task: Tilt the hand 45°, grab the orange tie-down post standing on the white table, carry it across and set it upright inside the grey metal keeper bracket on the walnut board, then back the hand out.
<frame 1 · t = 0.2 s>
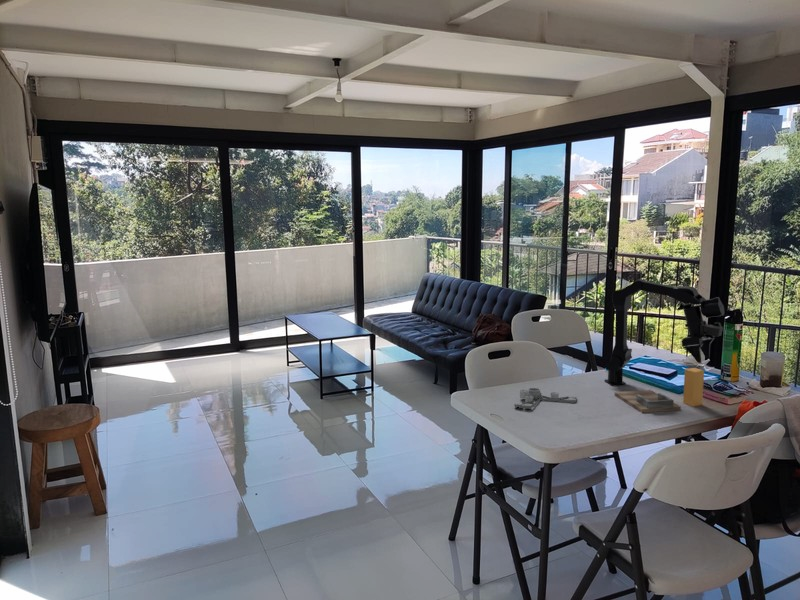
hand: (703, 360, 221), 15 cm above the table, tool tilted 15°, fingers open, 9 cm apart
post: (692, 403, 218), on the table
keeper: (646, 402, 221), on the table
pulley system: (540, 402, 226), on the table
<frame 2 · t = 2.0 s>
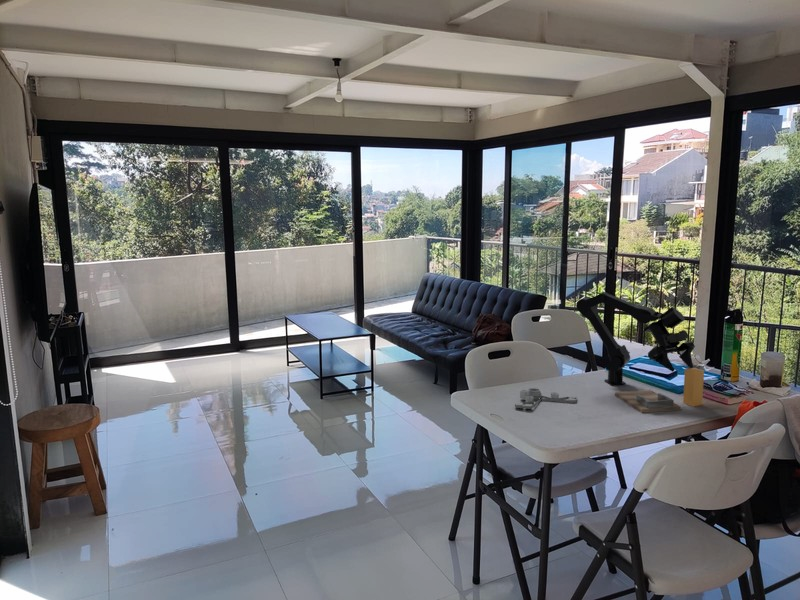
hand: (682, 369, 222), 12 cm above the table, tool tilted 45°, fingers open, 9 cm apart
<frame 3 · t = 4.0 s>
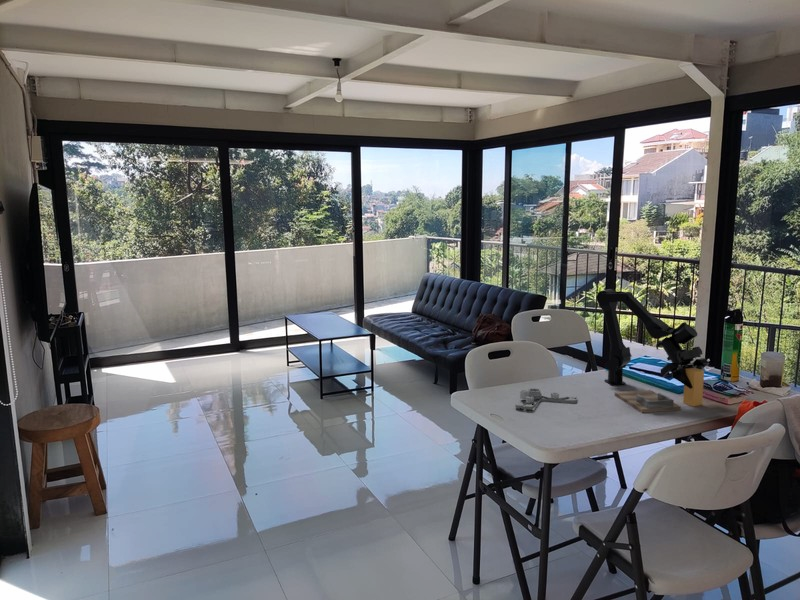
hand: (696, 387, 216), 7 cm above the table, tool tilted 45°, fingers closed on post, 4 cm apart
post: (692, 403, 218), on the table, touching gripper
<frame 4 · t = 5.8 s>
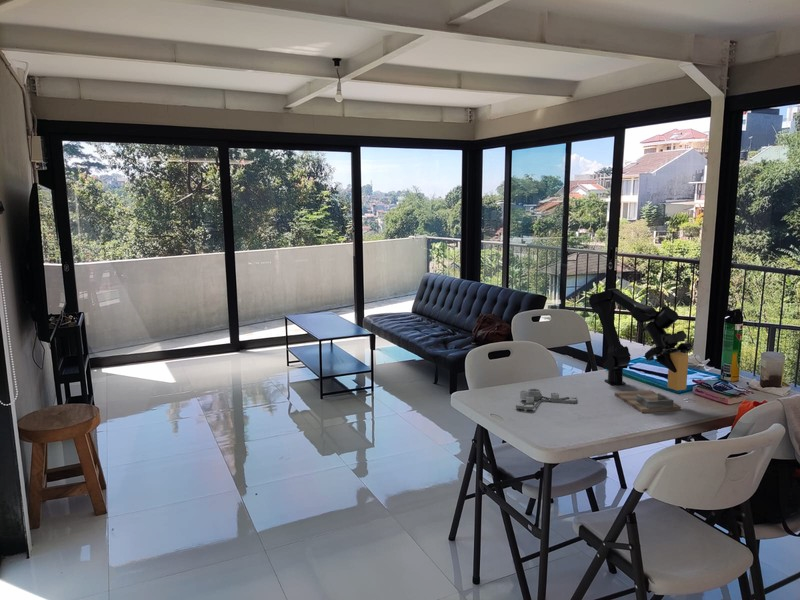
hand: (680, 371, 214), 13 cm above the table, tool tilted 45°, fingers closed on post, 4 cm apart
post: (676, 388, 217), point 6 cm above the table, touching gripper
everything else where it was.
when the fingers open (9 cm above the table, at t = 7.7 s): post drops 1 cm, resting on keeper.
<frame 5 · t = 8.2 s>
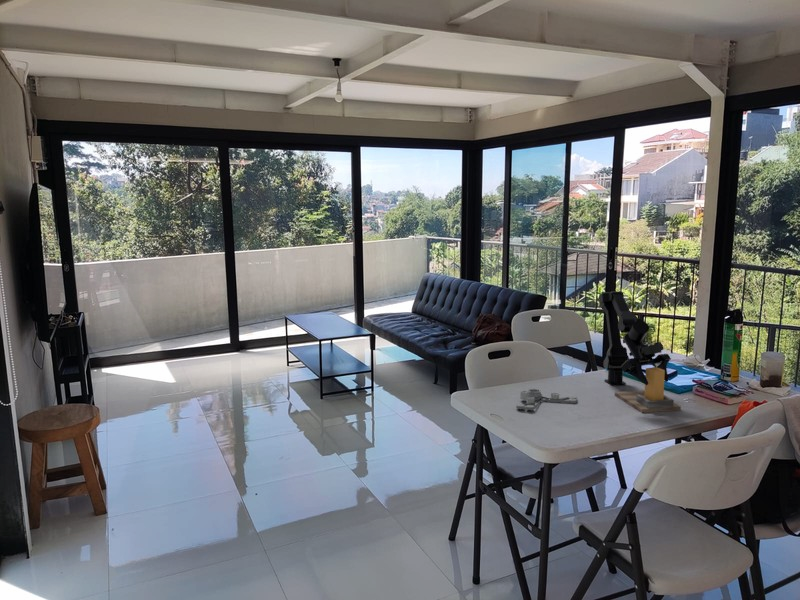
hand: (657, 382, 214), 9 cm above the table, tool tilted 45°, fingers open, 9 cm apart
post: (653, 403, 216), point 1 cm above the table, touching keeper
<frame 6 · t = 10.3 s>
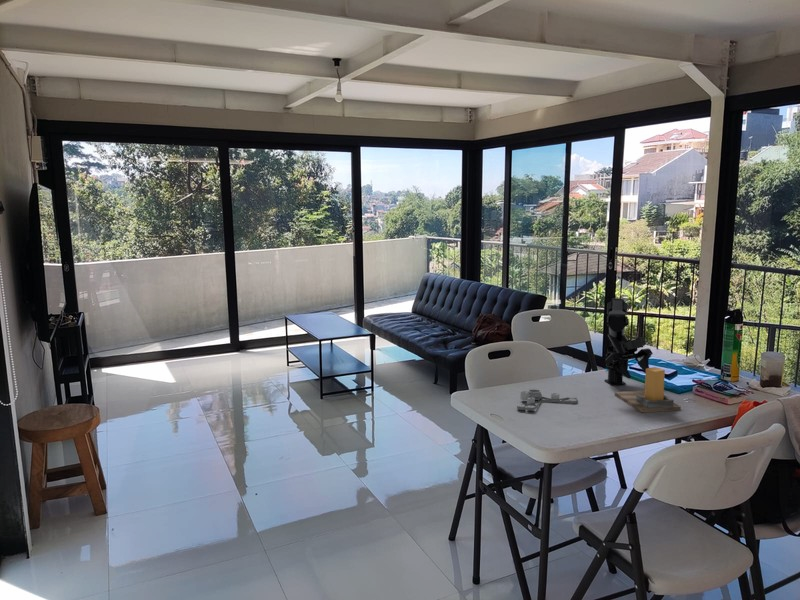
hand: (639, 376, 222), 9 cm above the table, tool tilted 45°, fingers open, 9 cm apart
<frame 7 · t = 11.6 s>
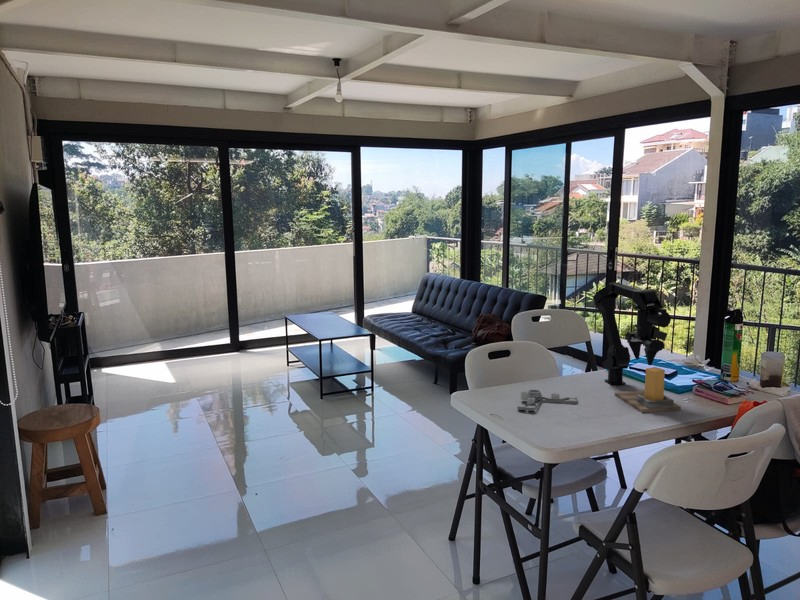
hand: (643, 362, 229), 13 cm above the table, tool pointing down, fingers open, 9 cm apart
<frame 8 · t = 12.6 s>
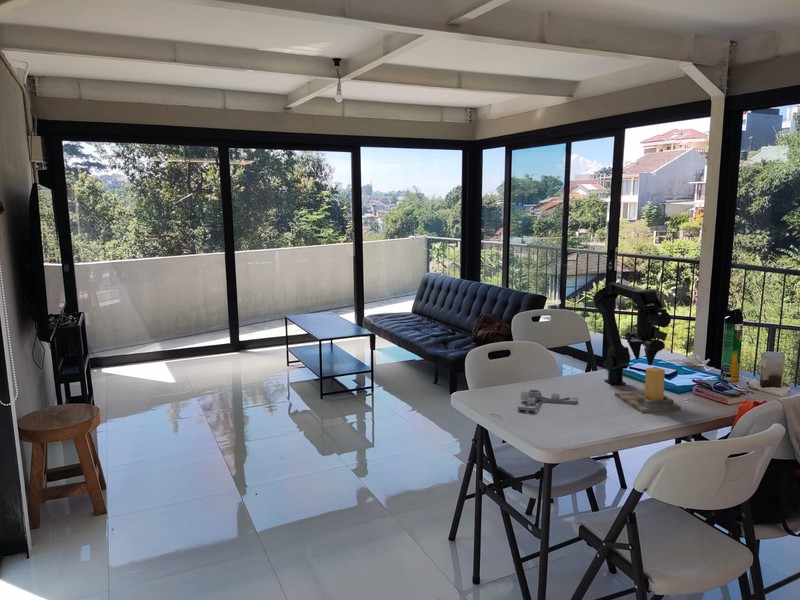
hand: (643, 362, 229), 13 cm above the table, tool pointing down, fingers open, 9 cm apart
at the end: post 0.0 cm from the target spot on the keeper, point 1.2 cm above the keeper's base; post tilted 0°; the gripper is holding nothing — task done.
